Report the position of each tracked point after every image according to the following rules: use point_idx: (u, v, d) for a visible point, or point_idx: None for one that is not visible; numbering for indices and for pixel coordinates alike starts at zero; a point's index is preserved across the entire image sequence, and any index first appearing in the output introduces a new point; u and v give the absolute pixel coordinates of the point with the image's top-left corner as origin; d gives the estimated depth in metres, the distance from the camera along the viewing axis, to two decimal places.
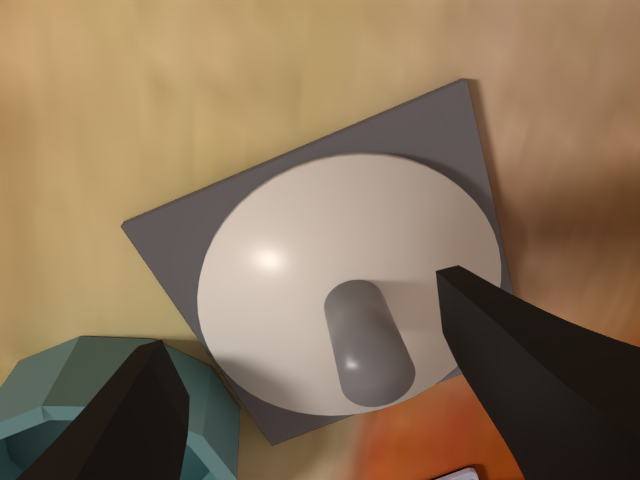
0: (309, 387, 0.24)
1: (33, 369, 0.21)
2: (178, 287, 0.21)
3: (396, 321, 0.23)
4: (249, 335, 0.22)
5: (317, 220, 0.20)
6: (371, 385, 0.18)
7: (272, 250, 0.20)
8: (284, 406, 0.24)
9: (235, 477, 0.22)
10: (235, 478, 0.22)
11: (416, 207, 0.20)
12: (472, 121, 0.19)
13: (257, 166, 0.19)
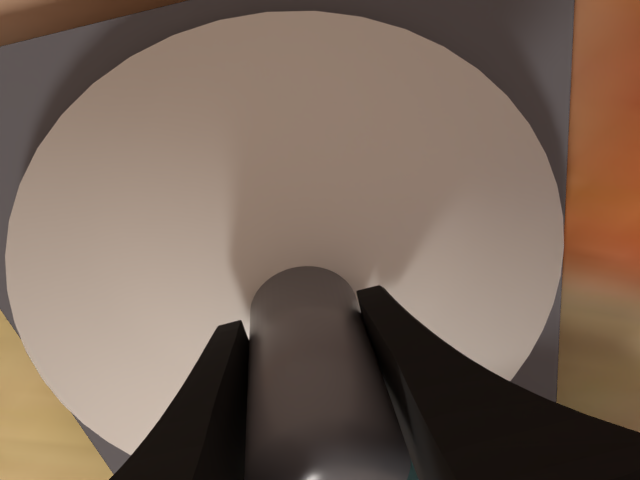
0: None
1: None
2: None
3: (360, 245, 0.12)
4: None
5: (129, 356, 0.12)
6: None
7: None
8: None
9: None
10: None
11: (105, 206, 0.10)
12: None
13: None
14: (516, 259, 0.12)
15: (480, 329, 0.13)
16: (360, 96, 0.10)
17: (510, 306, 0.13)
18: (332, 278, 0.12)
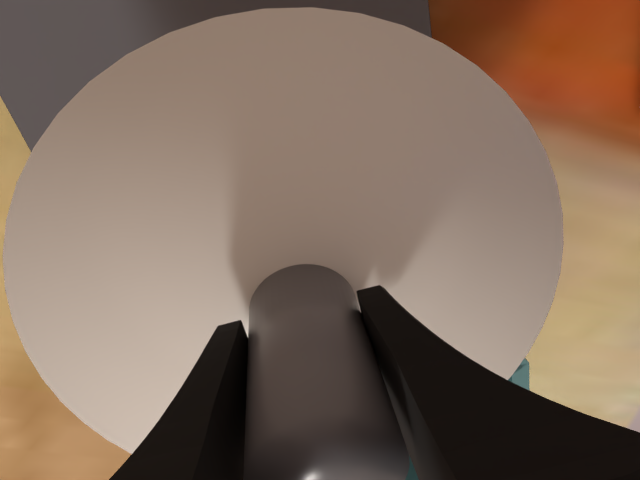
0: None
1: None
2: None
3: (359, 243, 0.12)
4: None
5: (128, 355, 0.12)
6: None
7: None
8: None
9: None
10: None
11: (103, 204, 0.10)
12: None
13: None
14: (515, 256, 0.12)
15: (480, 326, 0.13)
16: (358, 93, 0.10)
17: (509, 303, 0.13)
18: (331, 276, 0.12)
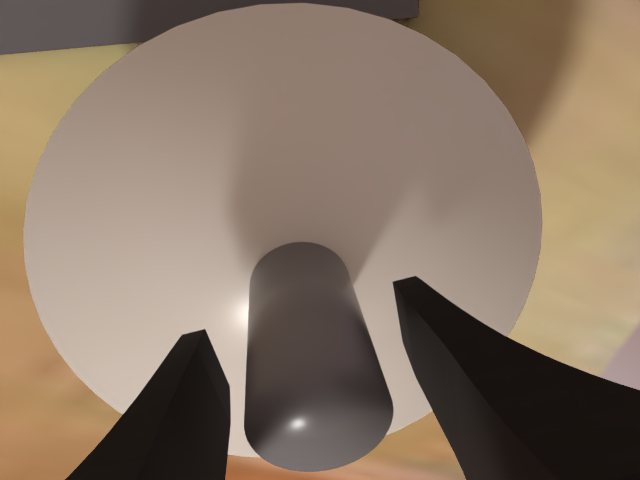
0: None
1: None
2: (32, 28, 0.14)
3: (351, 222, 0.13)
4: None
5: (137, 329, 0.13)
6: (332, 430, 0.09)
7: None
8: None
9: None
10: None
11: (115, 185, 0.11)
12: None
13: None
14: (497, 235, 0.13)
15: (466, 302, 0.14)
16: (348, 81, 0.11)
17: (493, 280, 0.14)
18: (325, 252, 0.12)
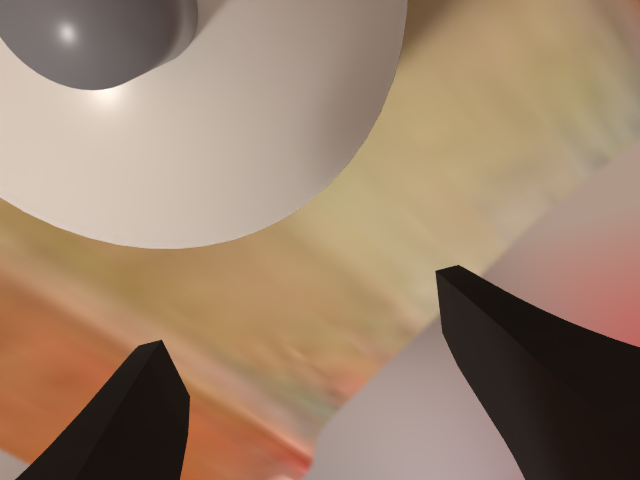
0: (272, 162, 0.15)
1: None
2: None
3: None
4: (125, 187, 0.14)
5: None
6: (86, 24, 0.08)
7: None
8: (286, 212, 0.15)
9: None
10: None
11: None
12: None
13: None
14: (357, 40, 0.13)
15: (310, 110, 0.14)
16: None
17: (342, 95, 0.14)
18: None
